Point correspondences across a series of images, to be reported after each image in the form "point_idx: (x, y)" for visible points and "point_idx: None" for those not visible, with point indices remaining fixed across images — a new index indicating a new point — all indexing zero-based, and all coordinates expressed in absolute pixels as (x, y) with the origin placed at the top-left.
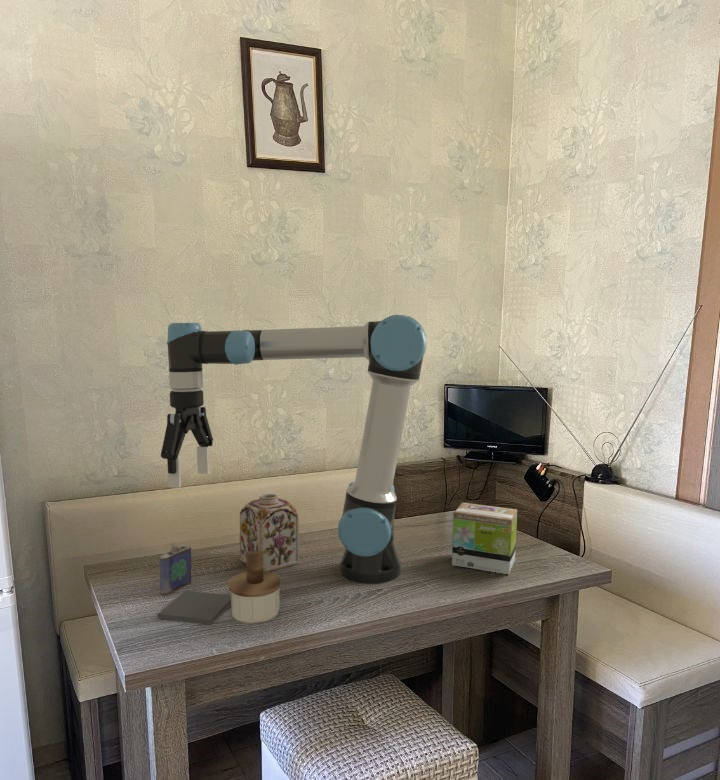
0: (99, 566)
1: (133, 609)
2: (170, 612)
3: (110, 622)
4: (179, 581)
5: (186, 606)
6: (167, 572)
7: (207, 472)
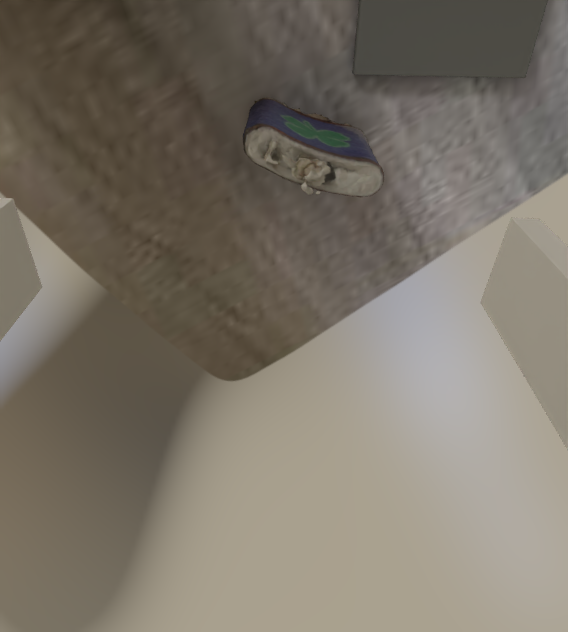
0: (225, 373)
1: (456, 177)
2: (518, 41)
3: (530, 194)
4: (310, 121)
5: (477, 4)
6: (368, 149)
7: (8, 205)
